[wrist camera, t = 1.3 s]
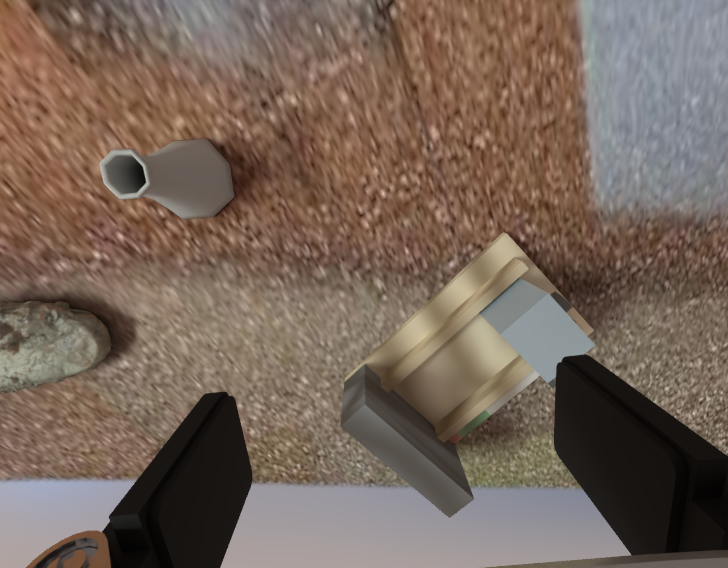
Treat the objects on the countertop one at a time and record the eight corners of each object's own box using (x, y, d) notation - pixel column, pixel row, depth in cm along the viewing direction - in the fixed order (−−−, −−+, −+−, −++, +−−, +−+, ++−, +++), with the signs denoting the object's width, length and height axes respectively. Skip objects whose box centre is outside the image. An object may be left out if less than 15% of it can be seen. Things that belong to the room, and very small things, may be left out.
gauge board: (503, 232, 34) (545, 243, 26) (589, 327, 36) (651, 364, 28) (344, 378, 37) (340, 426, 30) (432, 455, 40) (449, 517, 32)
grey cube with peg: (525, 267, 33) (559, 283, 28) (586, 335, 35) (631, 364, 29) (476, 310, 35) (500, 334, 29) (539, 374, 36) (573, 409, 31)
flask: (248, 201, 33) (201, 205, 23) (181, 231, 33) (107, 246, 24) (211, 125, 31) (143, 93, 21) (141, 157, 32) (44, 141, 22)
